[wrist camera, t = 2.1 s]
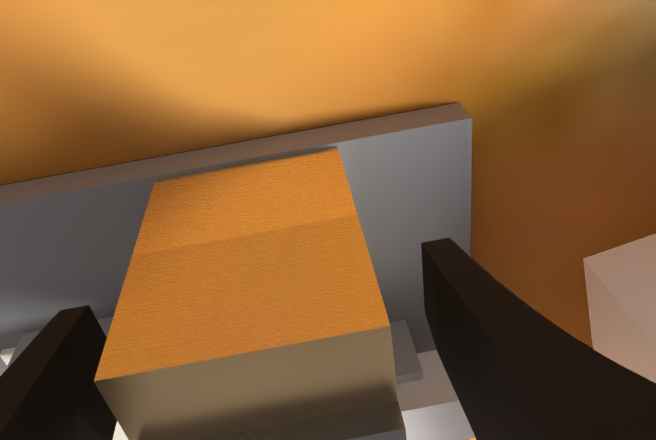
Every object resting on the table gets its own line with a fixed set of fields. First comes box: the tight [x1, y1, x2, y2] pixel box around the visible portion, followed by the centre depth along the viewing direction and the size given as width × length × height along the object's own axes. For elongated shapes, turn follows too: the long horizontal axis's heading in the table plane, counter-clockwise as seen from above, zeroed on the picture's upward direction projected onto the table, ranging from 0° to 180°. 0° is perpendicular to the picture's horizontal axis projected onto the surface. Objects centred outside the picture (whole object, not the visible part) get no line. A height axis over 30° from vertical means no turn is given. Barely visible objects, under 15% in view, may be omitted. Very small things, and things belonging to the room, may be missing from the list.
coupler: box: [94, 147, 407, 440], centre depth 11 cm, size 4×4×6 cm
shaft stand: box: [0, 103, 475, 440], centre depth 15 cm, size 19×11×4 cm, turn 98°
